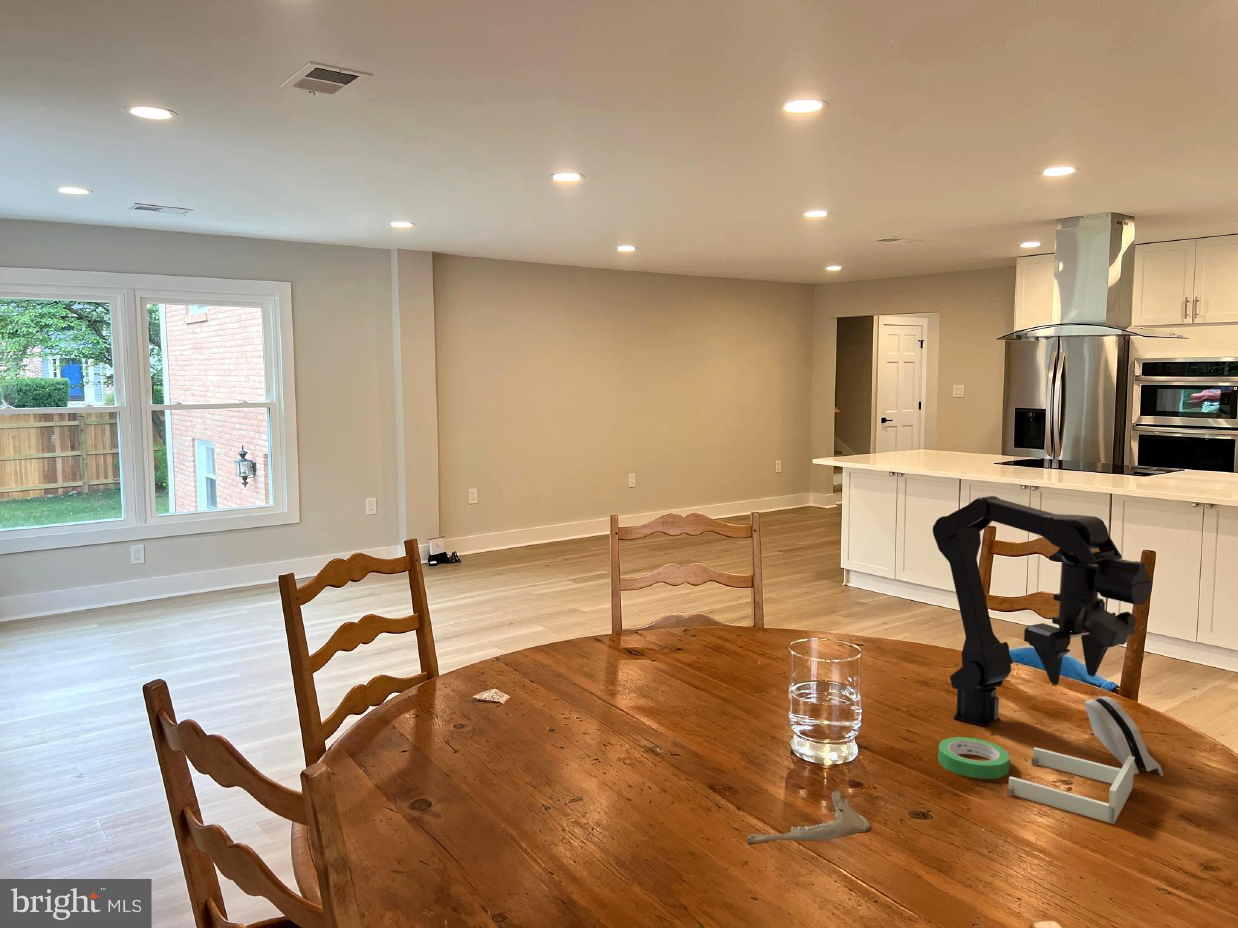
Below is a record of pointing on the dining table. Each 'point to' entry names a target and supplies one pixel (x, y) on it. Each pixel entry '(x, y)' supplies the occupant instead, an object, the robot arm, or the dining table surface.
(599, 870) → the dining table surface
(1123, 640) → the robot arm
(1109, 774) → the frame
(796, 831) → the jawbone
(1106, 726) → the white curved piece
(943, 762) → the tape roll
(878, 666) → the dining table surface
